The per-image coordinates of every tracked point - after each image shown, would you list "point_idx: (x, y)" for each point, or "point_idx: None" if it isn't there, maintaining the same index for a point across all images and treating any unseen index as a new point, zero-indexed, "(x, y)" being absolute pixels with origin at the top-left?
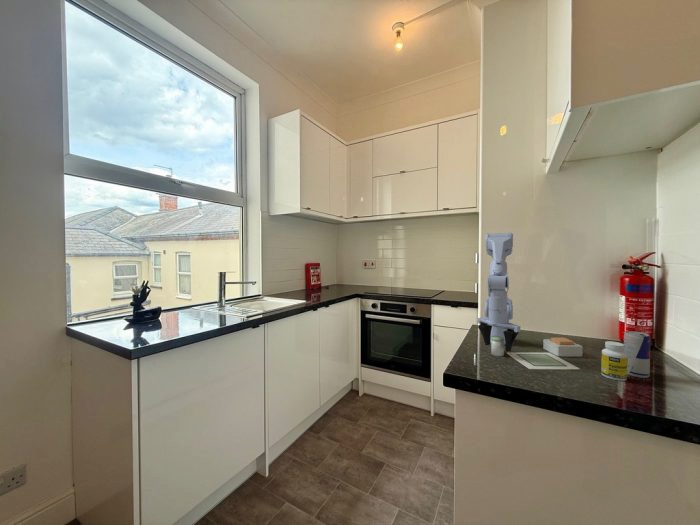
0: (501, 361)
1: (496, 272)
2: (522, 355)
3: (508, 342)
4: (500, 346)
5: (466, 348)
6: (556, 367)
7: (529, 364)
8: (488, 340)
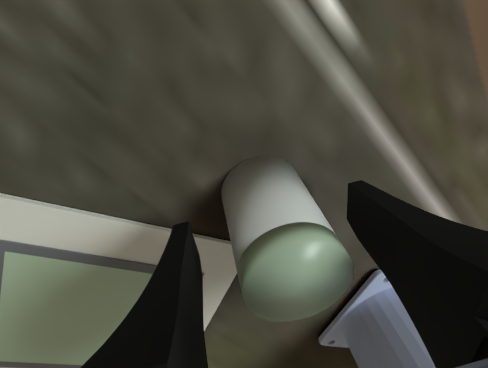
0: (136, 113)
1: None
2: None
3: (148, 284)
4: (235, 227)
5: (456, 72)
6: None
7: (26, 233)
8: (366, 227)
